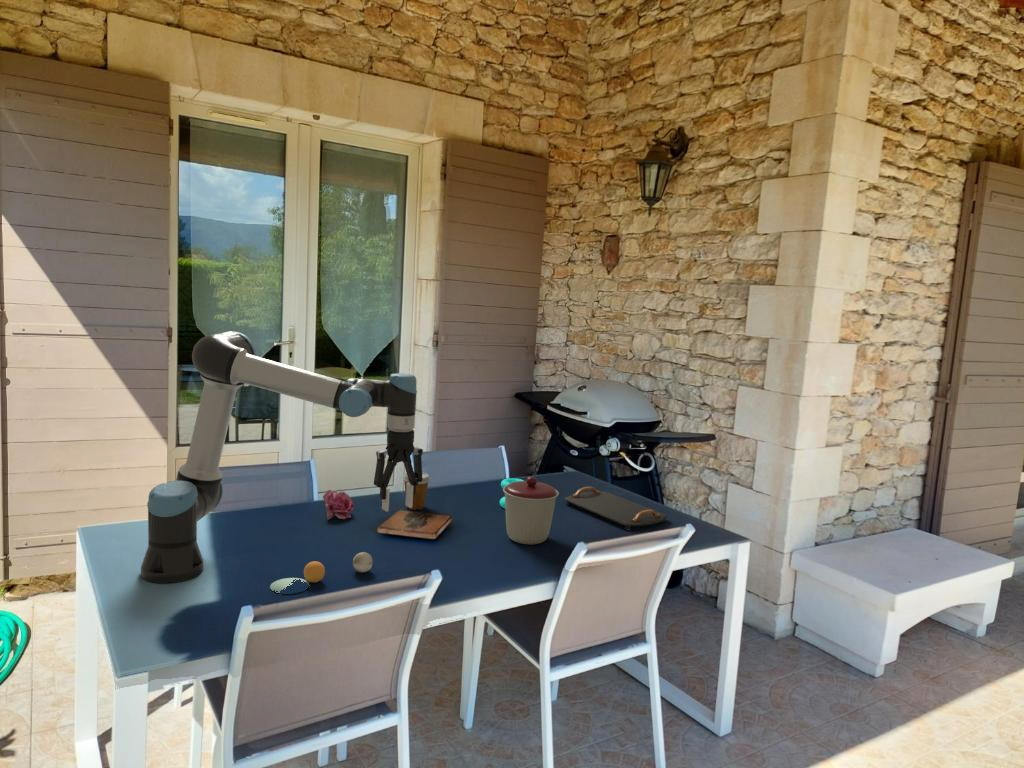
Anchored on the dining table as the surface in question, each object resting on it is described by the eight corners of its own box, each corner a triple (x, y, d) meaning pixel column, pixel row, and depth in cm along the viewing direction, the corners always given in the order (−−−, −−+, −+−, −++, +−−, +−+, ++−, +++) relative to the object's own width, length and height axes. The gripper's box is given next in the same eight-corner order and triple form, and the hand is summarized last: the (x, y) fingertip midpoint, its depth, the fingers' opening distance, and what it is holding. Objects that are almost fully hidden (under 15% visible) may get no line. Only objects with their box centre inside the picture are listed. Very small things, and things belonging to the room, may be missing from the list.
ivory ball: (348, 569, 200) (349, 551, 199) (367, 566, 203) (367, 547, 202) (357, 577, 195) (358, 558, 195) (375, 573, 199) (376, 554, 198)
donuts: (499, 477, 268) (525, 477, 270) (497, 502, 270) (523, 503, 272) (503, 484, 259) (530, 485, 260) (501, 511, 260) (528, 511, 262)
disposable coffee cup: (415, 501, 264) (417, 469, 263) (433, 507, 258) (435, 475, 257) (396, 506, 257) (397, 474, 255) (414, 513, 251) (416, 480, 249)
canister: (529, 554, 221) (534, 488, 218) (488, 537, 233) (492, 474, 230) (565, 541, 234) (571, 479, 231) (524, 525, 246) (529, 466, 243)
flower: (355, 525, 244) (357, 508, 237) (325, 529, 240) (326, 512, 234) (350, 499, 251) (351, 481, 245) (321, 502, 248) (322, 484, 241)
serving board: (674, 525, 260) (676, 508, 259) (630, 535, 245) (632, 518, 244) (599, 495, 290) (600, 481, 289) (556, 503, 275) (557, 488, 274)
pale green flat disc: (264, 583, 188) (264, 582, 188) (301, 575, 194) (301, 575, 194) (277, 598, 180) (277, 597, 180) (315, 589, 186) (315, 589, 186)
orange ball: (300, 579, 191) (300, 560, 190) (319, 575, 194) (320, 556, 194) (307, 587, 187) (308, 567, 186) (327, 583, 190) (328, 563, 189)
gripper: (374, 434, 191) (371, 517, 194) (438, 429, 203) (433, 507, 206) (362, 428, 196) (359, 509, 200) (424, 424, 208) (420, 499, 212)
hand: (397, 508), depth 203 cm, fingers open, 7 cm apart
